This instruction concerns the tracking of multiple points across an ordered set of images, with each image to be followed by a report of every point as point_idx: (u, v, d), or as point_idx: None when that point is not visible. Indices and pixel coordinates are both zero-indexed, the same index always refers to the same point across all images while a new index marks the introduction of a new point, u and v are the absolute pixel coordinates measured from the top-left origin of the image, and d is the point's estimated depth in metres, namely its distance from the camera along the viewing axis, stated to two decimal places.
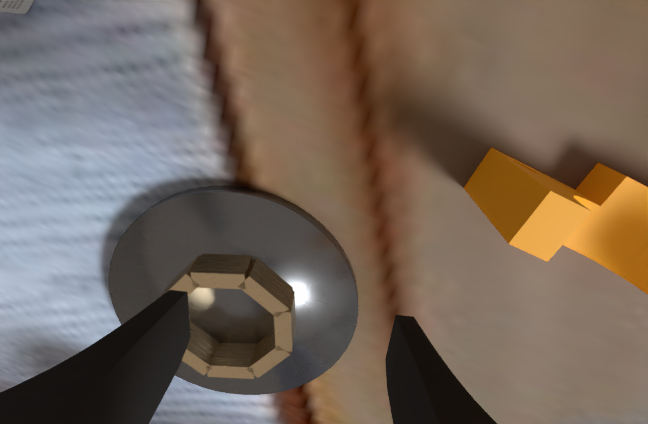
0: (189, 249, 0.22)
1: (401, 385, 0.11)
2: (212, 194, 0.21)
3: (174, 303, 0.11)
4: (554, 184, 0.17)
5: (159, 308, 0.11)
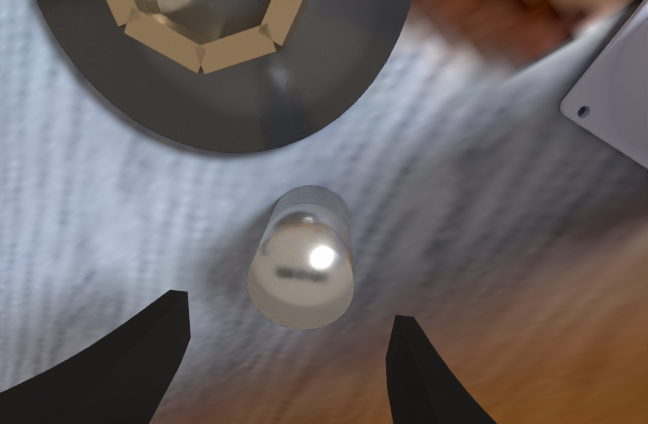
0: None
1: (401, 385, 0.11)
2: None
3: (174, 303, 0.11)
4: None
5: (159, 308, 0.11)
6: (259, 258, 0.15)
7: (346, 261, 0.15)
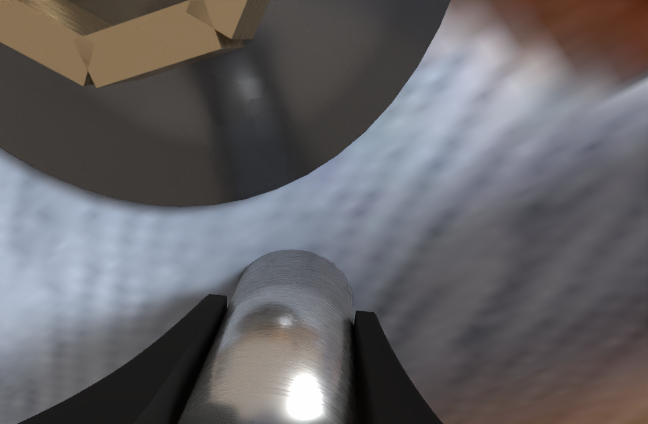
0: None
1: (356, 380, 0.11)
2: None
3: (217, 308, 0.11)
4: None
5: (203, 313, 0.11)
6: (191, 418, 0.08)
7: (345, 422, 0.08)
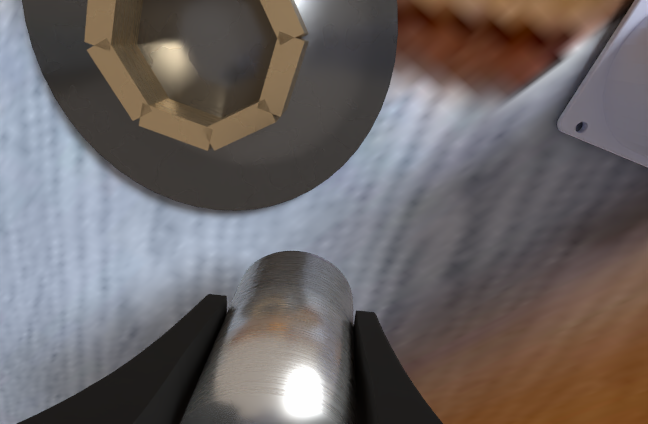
0: None
1: (356, 380, 0.11)
2: None
3: (216, 308, 0.11)
4: None
5: (203, 313, 0.11)
6: (192, 419, 0.08)
7: (344, 420, 0.09)
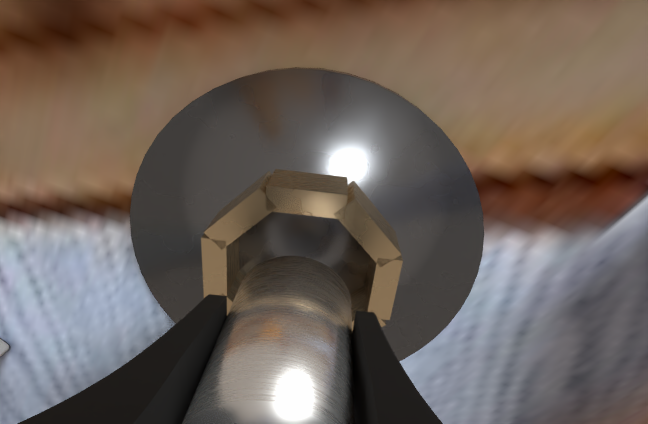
0: None
1: (356, 380, 0.11)
2: (135, 244, 0.17)
3: (217, 308, 0.11)
4: None
5: (203, 313, 0.11)
6: None
7: (338, 422, 0.09)
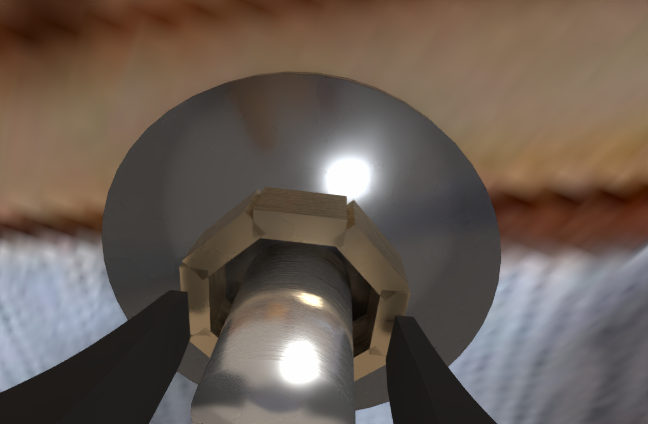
0: None
1: (401, 385, 0.11)
2: (109, 269, 0.15)
3: (174, 303, 0.11)
4: None
5: (159, 308, 0.11)
6: (205, 387, 0.09)
7: (339, 382, 0.10)
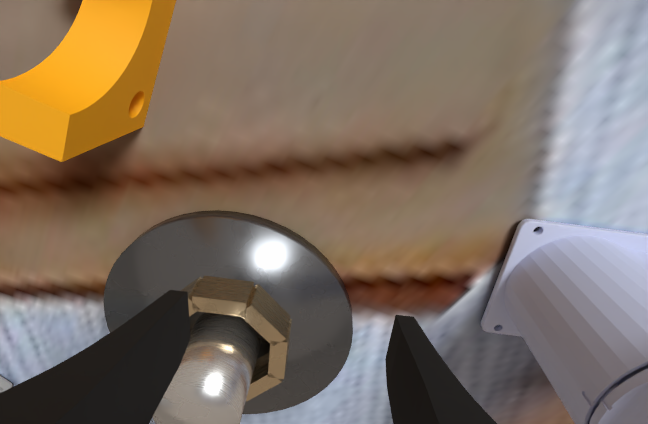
0: None
1: (401, 385, 0.11)
2: (107, 320, 0.24)
3: (174, 303, 0.11)
4: None
5: (159, 308, 0.11)
6: None
7: (229, 397, 0.18)
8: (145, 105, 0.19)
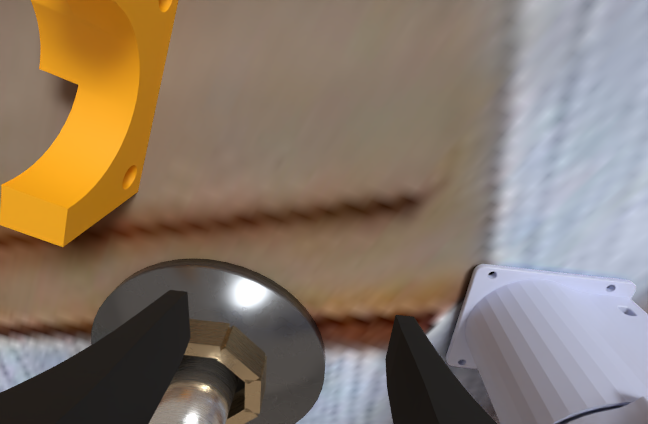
0: None
1: (401, 385, 0.11)
2: None
3: (174, 303, 0.11)
4: None
5: (159, 308, 0.11)
6: None
7: None
8: (138, 174, 0.21)
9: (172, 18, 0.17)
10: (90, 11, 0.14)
